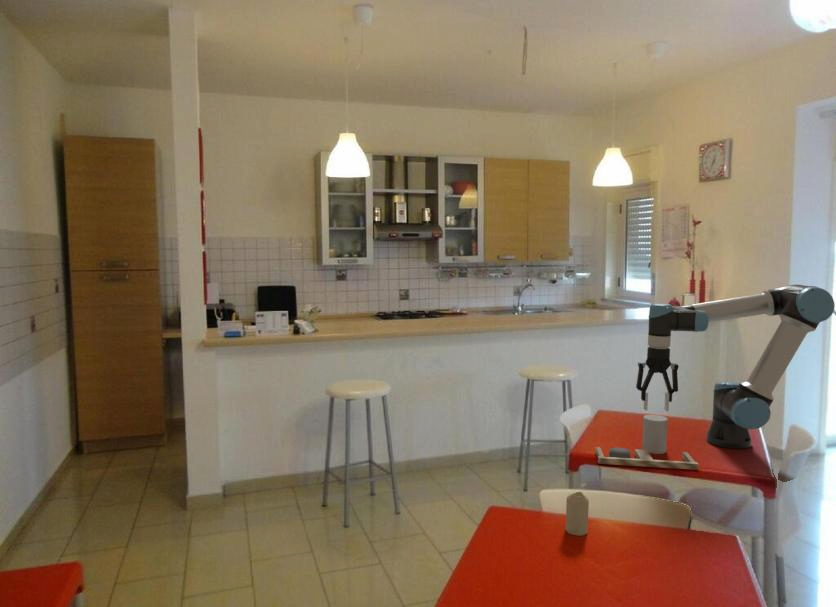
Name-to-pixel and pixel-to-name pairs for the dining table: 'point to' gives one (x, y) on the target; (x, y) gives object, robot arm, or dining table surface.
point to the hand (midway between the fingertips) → (655, 409)
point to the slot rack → (647, 460)
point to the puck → (619, 453)
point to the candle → (577, 514)
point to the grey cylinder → (654, 434)
